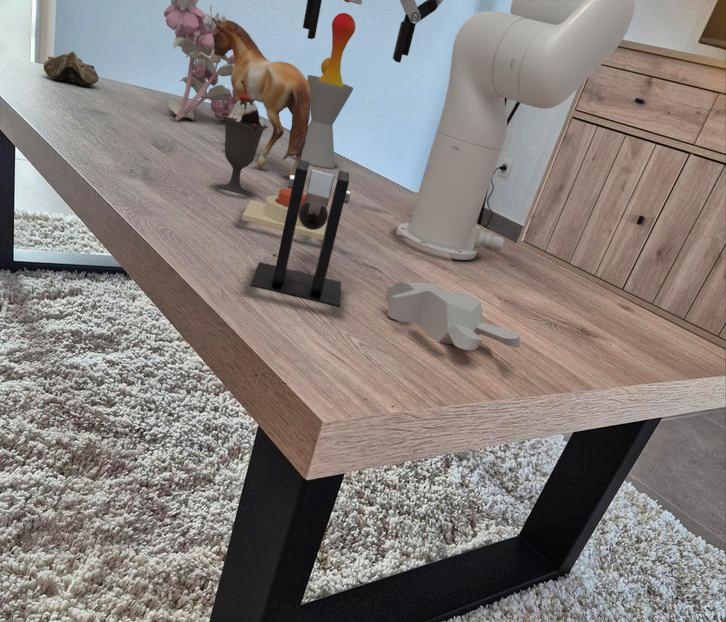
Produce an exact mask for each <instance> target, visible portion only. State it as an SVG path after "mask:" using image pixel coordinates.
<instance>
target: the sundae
mask: <svg viewBox="0 0 726 622" xmlns="http://www.w3.org/2000/svg"><path fill="white" fill-rule="evenodd" d="M241 83H242V84H243V86H244V87H245V94H242V95H241V96H240V99H239V101H238V102H237V103H236V104H235V106H234V107H233V108H232V110H231V111H230V113H222V114H221V118H222V119H221V120H222V121H224V130H225V132H224V133H225V134H224V156H225V159H226V161H227V162H228V163H229V164H230V166H231V168H232V173H231V177H230V180H229V181H228V183H227V184H219V185H217V186H216V187H215V188H216V189H219V190H222V191H226V192H230V193H234V194H238V195H242V196H246V197H250V196H251V193H250V192H249V191H248V190H246V189H245V188H243V187H242V185H241V173H242V170H243V169H244V168H247V167H249V165H251V164H252V163H253V162H254V159H255V156H256V154H257V151H258V147H259V145H260V141H261V138H262V136H263V132H264V131H265V130H266V129H267V128H269V127H270V126H269V125H268V126H267V125H266V124H265V123H264V121H263V120H262V118H261V117H260V113H259V110H258V106H257V105H256V103H255V101H254V102H252V101H251V100H250V99H249V97H248V96H247V95H246V94H247V92H246V86H245V84H244V80H241Z"/></svg>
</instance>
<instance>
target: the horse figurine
mask: <svg viewBox="0 0 726 622" xmlns="http://www.w3.org/2000/svg"><path fill="white" fill-rule="evenodd" d="M212 20H213V21H214V23H215V24H216V28H215V30H214V32H213V34H212V35H213V38H214V43H213V49H212V53H211V55H210V58H211V59H212V60H213V62H214V64H216V63H218V64H219V63H221V60H222V59H221V58H222V57H223V56H224V55H226V54H228V52H230V51H232V53H233V54H234V60H235V67H234V69H233V71H232V75H231V76H230V82H231V87H232V89H233V90H234V92H235V100H236V103H237V102H238V101H239V99H240V96H241V95H242V94H245V87H244V86H243V84H242V83H241V80H244V84H245V86H246V92H247V94H246V95H247V96H248V97H249V99H250V100H251V101H252V102H254V103H255V102H259V103H261V104H263V107H264V108H265V111H266V117H267V119H268V121H269V123H270V124H271V126H272V128H273V129H272V134H271V137H270V139H269V141H268V142H267V143H266V145H264V147H262V149H261V151H260V155H259V157H258V159H257V162H256V168H258V169H261V168H264V167H265V166H266V162H267V161H266V156H267V155H268V154H269V153H270V152H271V150H272V148H273V147H274V145H275V144H276V142H278V141H279V139H281V138H282V137H283V135H284V131H285V130H284V127H283V125H282V123H281V119H280V113H281V112H282V111H284V109H286V108H288V111H289V112H290V114H291V127H290V131H289V138H288V145H287V151H286V153H285V155H284V156H283V157H282V160H284V161H285V160H286V159H287V158H289V157H291V156H292V155H295V156H296V158H295V160H294V165H293V167H292V168H291V169H290V170H289V171H288V172H287V174H286V177H287V178H288V177H290V174H295V172H296V168H297V165H298V163H299V160H301V157H302V151H303V148H304V145H305V138H306V135H307V132H308V125H309V123H310V118H311V110H310V94H311V90H310V85H309V83H308V79H307V78H306V77H305V75H304V73H302V71H301V70H299V68H297V66H295V65H293V64H292V63H289V62H286V61H285V62H284V61H272V62H271V61H270V60H268V59H267V58H266V57H265V56H264V54H263V52H262V51H261V50H260V48H259V46H258V45H257V44H256V42H255V41H254V39H252V37H251V36H250V34H249V33H248V32H247V31H246V30H245V29H244V27H242V25H239V24H238V23H237V22H235V21H233V20H230V19H227V21H225V22H221V21H220V20H221V19H220V20H218V21H216V20H215V19H214V17H213V18H212ZM233 54H232V55H233Z"/></svg>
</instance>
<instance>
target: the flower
mask: <svg viewBox="0 0 726 622" xmlns="http://www.w3.org/2000/svg"><path fill="white" fill-rule="evenodd" d="M199 1H200V0H170V5H168V6H167V7H166V8H165V10H164V11H163V17H165V23H166V26H167V27H169V28H170V29H171V30H172V31H174V35H175V38H174V39H173V44H172V47H173V48H172V49H173V50H174V49H176V48H177V47H180V48H181V51H182V53H184V54H185V55H186V56H185V57H184V58H185V59H186V58H189V64H188V70H187V76H184V77H182V79H180V82H184V83H185V91H184V94H183V97H182V99H181V101H180V102H178V101H176V100H175V99H174V98H168V100H167V101H168V107H169V109H170V111H171V112H173V113H174V114H175V115H176V116H174V119H175V121H176V122H177V121H179V120H181V119H183V118H187V119H189V120H190V121H194V111H193V110H195V109H196V108H197V107H198V106H200V105H201V104H202V103H203V102H204V101H205V100H210V109H211V111H212V112H213V113H214V115H213V117H215V118H216V119H217V120H223V119H222V118H221V114H222V113H230V111H231V110H232V108H233V107H234V106H235V104H236V100H235V92H234V90H233V88H232V90H231V89H229V88H227V87H225V85H223V84H218V83H219V76H220V77H231V75H232V71H233V69H234V67H235V60H234V54H232V55H230V56H229V57H228V56H227V55H226V54H225V55H224V56H223V57H222V58H221V60H223V61H225V62H226V64H223V65H222V66H220V67H219V68H218V65H219V63H214V62H213V60H212V59H211V53H212V49H213V43H214V38H213V35H212V34H213V32H214V30H215V28H216V24H215V23H214V21H213V20H212V18H214V19H215V20H216V21H218V20H220V21H221V22H225V21H227V20H228V18H227V17H226V16H224V14H222V15H221V17H220V13H219V12H216V14H215V15H214V16H213V12H212V4H210V5H209V10H210V14H208V13H205V12H204V11H203V10H202V9H200V8H199V7H197V4H198V3H199ZM210 86H212V87H211V88H209V87H210ZM191 88H192V89H193V90H194V91H195V95H194V96H193V97H192V99H190V101H189V102H188V99H189V96H190V92H191Z"/></svg>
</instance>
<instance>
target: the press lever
mask: <svg viewBox="0 0 726 622" xmlns="http://www.w3.org/2000/svg"><path fill="white" fill-rule="evenodd" d="M334 180H335V174H332V173H328V172H324V171H320V170H316V169H311V171H310V176H309V180H308V185H307V189H306V194H305V195H306V199H305V203H303V204H302V206H301V207H300V209H299V220H300V222H301V224H302V225H303V226H304V227H306V228H307V229H310V230H317V229H320V228H321V227H323V226H324V225H325V223H326V221H327V219H328V216H329V212H328V208H327V207H328V205H329V202H330V197H331V193H332V188H333V184H334Z"/></svg>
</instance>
